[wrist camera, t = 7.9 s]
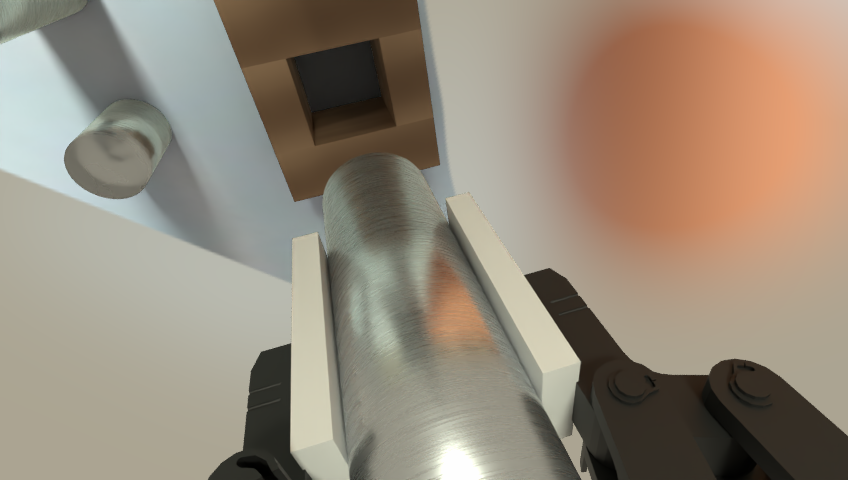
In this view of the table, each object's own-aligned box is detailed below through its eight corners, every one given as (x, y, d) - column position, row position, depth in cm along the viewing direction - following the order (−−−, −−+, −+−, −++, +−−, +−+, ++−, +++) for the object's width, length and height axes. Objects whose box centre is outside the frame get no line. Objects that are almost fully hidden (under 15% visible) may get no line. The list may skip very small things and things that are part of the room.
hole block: (227, -17, 26) (212, -4, 21) (390, -50, 27) (410, -44, 22) (294, 162, 33) (294, 201, 28) (419, 131, 34) (440, 164, 29)
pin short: (88, 106, 28) (46, 144, 23) (152, 92, 28) (123, 126, 23) (124, 162, 30) (92, 206, 25) (182, 148, 30) (162, 189, 26)
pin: (307, 168, 15) (344, 885, 4) (420, 140, 15) (757, 714, 4) (339, 256, 17) (418, 846, 6) (435, 230, 18) (671, 741, 7)
